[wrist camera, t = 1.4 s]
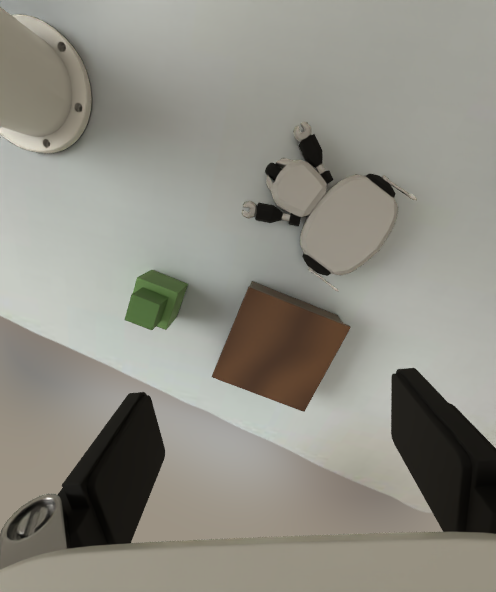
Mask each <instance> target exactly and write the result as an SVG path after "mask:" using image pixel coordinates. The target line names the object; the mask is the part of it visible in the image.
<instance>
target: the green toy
mask: <svg viewBox="0 0 496 592" xmlns="http://www.w3.org/2000/svg"><path fill="white" fill-rule="evenodd" d="M187 286H188V284H187V283H184V282H182V281H179V280H177V279H174V278H172V277H169V276H166V275H164V274H161V273H159V272H156V271H154V270H151V271H149V272H147V273H145V274H143V275H141V276H139V277H137V280H136V284H135V287H134V291H133V294H132V295H131V299H130V302H129V306H128V309H127V313H126V317H125V320H126V321H129V322H132V323H134V324H137V325H139V326H142V327H145V328H147V329H150V330H153V329H154V328H155V327H156V326H157V327H160V328H162V329H165V330H166V329H167V328H168V327H169V326H170V325H171V323H172V322H173V321H174V320H175V319H176V317H177V315H178V312H179V309H180V306H181V303H182V301H183V298H184V295H185V292H186V289H187Z"/></svg>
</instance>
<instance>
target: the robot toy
mask: <svg viewBox="0 0 496 592" xmlns="http://www.w3.org/2000/svg"><path fill="white" fill-rule="evenodd" d="M301 126H302V128H303V130H304V131H303V132H302V133H301V132H300V129H299V127H298V126H296V127H295V129H294V131H293V132H294V136H295V139H297V140H298V141H299V142H300V144H299V145H298V146H299V148H300V150H301V152H302V154H303V156H304V158H305V160H306V161H307V162H305V161H302V160H295V161H293V160H290V159H286V158H282V159H280V160H279V161H277V162H276V164H274V163H270V164H269V165H268V166H267V167H266V170H265V173H266V174H267V181H266V184H267V186H268V188H269V190H270V191H271V193H272V196H273V200H274V201H275V203H276V204H277V206H278V207H280V208H282V209H283V210H285V211H287V212H289V213H291V214H286V213H283V212H282V211H280V210H279V209H278V208H277V207H275V206H274V205H269V204H264V203H258V206H257V205H256V204H255V203H253V202H252V201H248V202H245V203H244V204H243V207H248V208H250V211H249V212H247V211H244V210H242V214H243V216H244V217H246V218H252V217H255V216H256V217H255V219H256V220H258V221H263V222H268V223H272V222H276V221H279V220H286V221H289V224H290V225H295V226H299V224H300V220H301V217H304V216H307V215H309V216H308V217H307V219H306V221H305V223H304V226H303V228H302V231H301V235H300V245H301V248H302V250H303V252H304V254H303V258H304V260H305V262H306V264H307V265H308V266H309V267H310V268H309V269H308V270H309V271H310V272H311V273H314V274H315V275H317V276H318V277H319V278H320V279H322V280H323V281H324V282H326V283H327V284H328V285H329V286H331V287H332V288H333V289H334V290H335V291H338V289H337V288H336V287H334V286H332V285H331V284H330V283H329V282H327V281H326V280H325V279H323V278H322V277H321V276H320V275H318V274H322V275H326V276H328V275H329V274H336V275H344V274H347V273H351V272H352V271H354V270H356V269H357V268H359V267H360V266H362V265H363V264H364V263H366V262H367V261H368V260H369V259H370V258H371V257H372V256H374V255H375V254H376V253H377V252H378V251H379V250H380V248H381V247H382V245H383V244H384V242H385V241H386V239H387V238H388V236H389V234H390V233H391V231H392V229H393V227H394V225H395V222H396V219H397V214H398V206H397V204H396V202H395V200H394V196H395V192H394V190H393V188H392V187H391V185H392V186H393V187H395V188H396V189H398V190H399V191H401V192H402V193H404V194H405V195H407V196H408V197H409V198H410V199H412V200H417V199H416V197H415V196H413V195H412V194H409V193H408V192H406V191H405V190H403V189H402V188H400V187H399V186H397V185H395V184H394V183H392V182H391V181H389V180H388V179H389V178H387V177H386V176H383V177H380V176H378V175H374V174H368V175H366V176H362V175H357V174H356V175H353V176H350V177H347V178H345V179H343V180H342V181H340V182H339V183H337V184H336V185H335V186H334V187H332V188H331V189H330V190H329V191H328V192H327V193H326V185H327V184H328V183H330V182H331V181H333V178H332V176H331V173H330V171H325V169H324V167H323V165H322V149H321V147H320V145H319V143H318V140H317V138H316V136H315V134H313V135H311V127H310V125H309V124H308V123H307V122H302V123H301ZM310 164H311V165H312V166H313V167H315V168H316V170H317V171H316V170H315V169H314V168H313V167H312V166H311V165H310ZM281 168H283V169H281ZM269 177H270V178H271V179H273V180H274V181H275V182H274V183H272V181H271V179H270V178H269ZM325 193H326V194H325ZM324 194H325V195H324ZM314 271H315V272H314ZM316 272H317V273H318V274H317V273H316ZM338 292H339V291H338Z"/></svg>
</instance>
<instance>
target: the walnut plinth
mask: <svg viewBox="0 0 496 592" xmlns="http://www.w3.org/2000/svg"><path fill="white" fill-rule="evenodd" d="M349 329H350V326H348V325H346V324H343V322H342V321H341V319H340V318H339V317H338V315H336V314H333V313H331V312H328V311H326V310H323V309H321V308H318V307H316V306H313V305H311V304H308V303H306V302H303V301H301V300H298V299H296V298H293V297H291V296H288V295H286V294H283V293H281V292H278V291H276V290H273V289H271V288H268V287H266V286H263V285H261V284H258V283H256V282H253V281H252V282H251V284H250V286H249V287H248V289H247V292H246V294H245V297H244V299H243V302H242V304H241V306H240V309H239V311H238V314H237V316H236V319H235V321H234V324H233V326H232V328H231V331H230V333H229V336H228V338H227V341H226V343H225V345H224V348H223V350H222V353H221V355H220V358H219V360H218V363H217V365H216V367H215V370H214V372H213V375H212V377H213V378H216V379H218V380H221V381H224V382H226V383H229V384H232V385H234V386H237V387H240V388H242V389H245V390H248V391H250V392H253V393H256V394H258V395H261V396H264V397H266V398H269V399H272V400H274V401H277V402H280V403H282V404H285V405H288V406H290V407H293V408H296V409H298V410H301V411H305V409H306V408H307V406H308V404H309V402H310V400H311V398H312V397H313V395H314V393H315V391H316V389H317V388H318V386H319V384H320V382H321V380H322V379H323V377H324V375H325V373H326V371H327V369H328V368H329V366H330V364H331V362H332V360H333V359H334V357H335V355H336V353H337V351H338V349H339V348H340V346H341V344H342V342H343V340H344V339H345V337H346V335H347V333H348V331H349Z"/></svg>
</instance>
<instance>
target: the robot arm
mask: <svg viewBox="0 0 496 592" xmlns="http://www.w3.org/2000/svg"><path fill="white" fill-rule="evenodd" d="M91 100H92V97H91V87H90V82H89V78H88V75H87V71H86V69H85V67H84V64H83V62H82V60H81V58H80V57H79V55H78V53H77V52H76V50H75V49H74V47H73V46H72V45H71V44H70V43H69V42H68V40H67V39H66V38H65V37H64V36H62V35H61V34H60V33H59V32H58V31H57V30H56V29H54V28H53V27H51V26H50V25H49V24H47V23H46V22H44V21H42V20H39V19H37V18H35V17H32V16H27V15H22V14H19V15H10V14H9V13H8V12H6V11H5V10H4V9H3V8H1V7H0V135H1V136H3V137H4V138H5V139H7V140H8V141H9V142H11V143H12V144H14V145H16V146H18V147H20V148H22V149H26V150H29V151H33V152H38V153H55V152H59V151H62V150H64V149H66V148H68V147H70V146H71V145H72V144H73V143H75V142H76V141H77V140H78V139H79V137H80V136H81V135H82V133H83V132H84V130H85V128H86V125H87V123H88V120H89V116H90V112H91ZM391 434H392V439H393V442H394V444H395V446H396V448H397V449H398V451H399V453H400V455H401V457H402V458H403V460H404V462H405V464H406V466H407V467H408V469H409V471H410V473H411V475H412V476H413V478H414V480H415V482H416V484H417V485H418V487H419V489H420V491H421V493H422V494H423V496H424V498H425V500H426V501H427V503H428V505H429V507H430V509H431V510H432V512H433V514H434V516H435V518H436V519H437V521H438V523H439V525H440V527H441V528H442V530H443V532H406V533H405V532H399V533H369V534H338V535H310V536H283V537H258V538H236V539H235V538H234V539H209V540H189V541H167V542H146V543H131V540H132V538H133V536H134V533H135V531H136V528H137V526H138V523H139V520H140V518H141V516H142V513H143V511H144V508H145V506H146V503H147V501H148V498H149V496H150V493H151V491H152V488H153V485H154V483H155V481H156V478H157V476H158V473H159V471H160V468H161V465H162V463H163V461H164V457H165V448H164V444H163V441H162V437H161V433H160V430H159V426H158V422H157V419H156V415H155V411H154V408H153V404H152V400H151V398H150V396H147V395H146V393H144V392H140V393H130V394H128V396H127V397H126V398H125V400H124V401H123V402H122V404H121V405H120V407H119V408H118V409H117V411H116V412H115V413H114V415H113V416H112V417H111V419H110V420H109V421H108V423H107V424H106V425H105V427H104V428H103V430H102V431H101V433H100V434H99V435H98V437H97V438H96V439H95V441H94V442H93V443H92V445H91V446H90V447H89V449H88V450H87V451H86V453H85V454H84V456H83V457H82V458H81V460H80V461H79V462H78V464H77V465H76V467H75V468H74V469H73V471H72V472H71V473H70V475H69V476H68V477H67V479H66V480H65V482H64V483H63V484H62V487H63V488H62V490H61V491H60V492H59V494H58V495H56V494H46V495H42V496H39V497H37V498H35V499H33V500H31V501H29V502H28V503H26V504H25V505H23V506H22V507H21V508H19V509H18V510H17V511H16V512H15V513H14V514H13V515H12V516H11V517H10V518H9V519H8V520H7V522H6V523H5V525H4V527H3V528H2V530H1V533H0V592H496V448H495V447H494V446H493V445H492V444H491V443H490V442H489V441H488V440H487V439H486V438H485V437H484V436H483V435H482V434H481V433H480V432H479V431H478V430H477V429H476V428H475V427H474V426H473V425H472V424H471V423H470V422H469V421H468V420H467V418H466V417H465V416H464V415H463V414H462V413H461V412H460V411H459V410H458V409H457V408H456V407H455V406H453V405H452V404H449V403H448V402H447V401H446V400H445V399H444V398H443V397H442V396H441V395H440V394H439V393H438V392H437V391H436V389H435V388H434V387H433V386H432V385H431V384H430V383H429V382H428V381H427V380H426V379H425V378H424V377H423V376H422V375H421V374H420V373H419V372H418V371H417V370H416V369H415V368H408V369H398V370H397V371H396V374H392V409H391Z"/></svg>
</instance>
